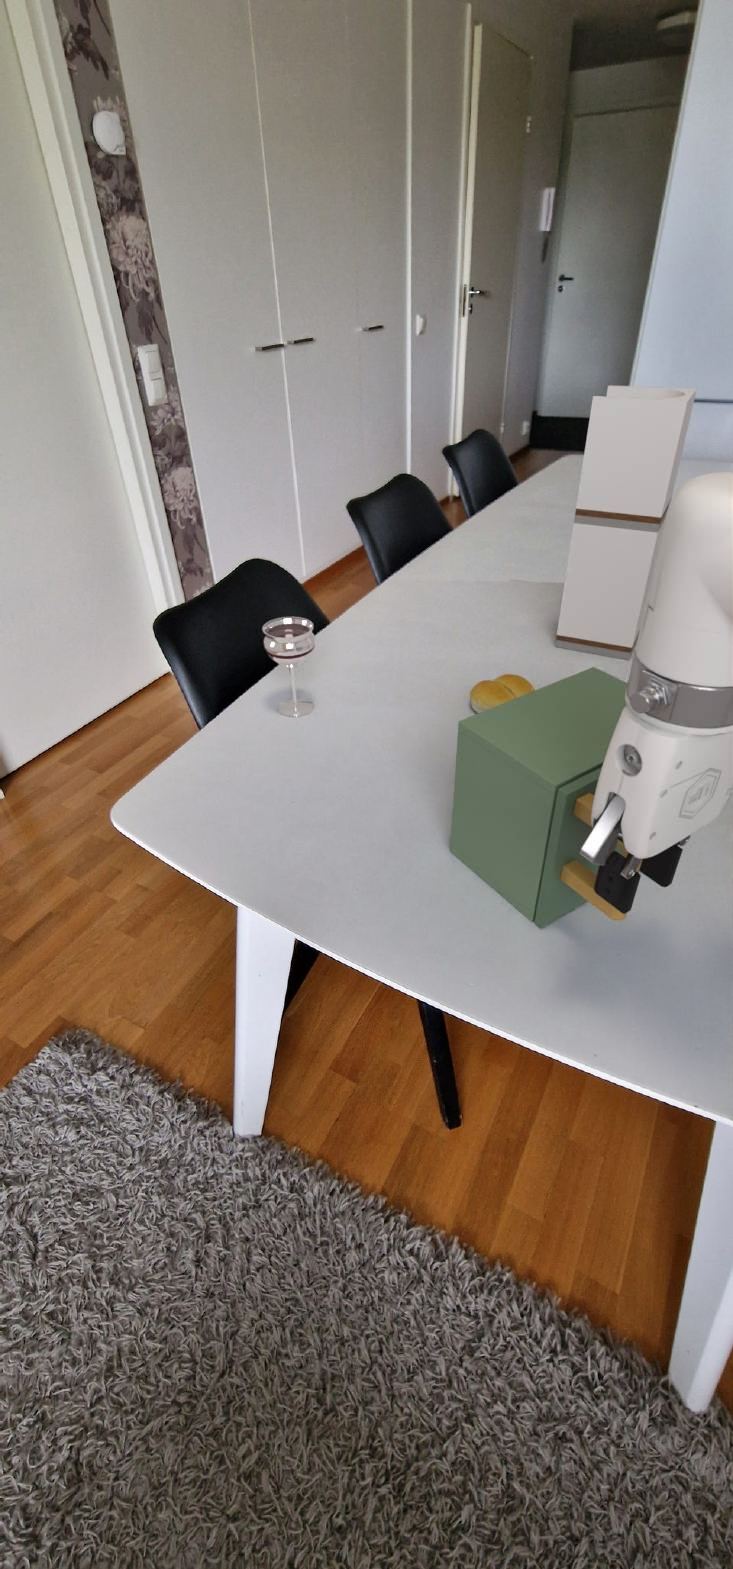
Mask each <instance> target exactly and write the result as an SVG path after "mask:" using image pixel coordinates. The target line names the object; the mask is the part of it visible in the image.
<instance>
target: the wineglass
mask: <svg viewBox="0 0 733 1569" xmlns="http://www.w3.org/2000/svg"><path fill="white" fill-rule="evenodd" d="M261 630H262V633H263V634H264V637H263V648H264V651H265V653H266V654H267V656H268V658H269V659H271V660H272V661H274V662H275V663H277V664H278V665H282V666H285V667H286V668H288V671H289V678H290V685H291V690H292V691H291V692H292V698H291V699H287V700H284V701H283V702H281V703H280V704H279V705H278V706H277V710H278V713H280V714H281V715H282V716H285V717H291V718H295V717H302V716H305V715H308V714H310V713H311V712H313V710H314V704H313V702H312V701H310V700H308V699H306V698H297V682H296V681H297V680H296V668H297V666H299V665H301V664H303V663H305V662H306V661H307V660H308V659H309V658H310V657H311V656H312V654H313V652H314V650H315V648H316V647H315V646H316V637H315V634H314V633H313V630H314V623H313V622H312V620H309V619H308V618H305V617H301V616H282V617H278V618H274V619H271V620H269V621H267V622H266V623H264V624H263V625H262V628H261Z"/></svg>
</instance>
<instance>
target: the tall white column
mask: <svg viewBox="0 0 733 1569" xmlns="http://www.w3.org/2000/svg"><path fill="white" fill-rule="evenodd" d="M696 395H697V388H686V387H685V388H682V387H681V388H680V387H660V386H659V387H658V386H657V387H656V386H634V385H613V384H611V385H608V386H607V390H606V395H605V396H604V395H593V396H592V401H591V407H590V415H589V420H588V427H587V433H586V440H585V445H584V446H585V447H584V452H583V453H584V454H583V459H582V466H581V473H580V479H579V486H578V493H577V499H576V506H575V512H574V519H573V524H572V531H571V538H570V544H569V552H568V558H567V564H566V569H565V570H566V571H565V576H564V584H563V591H562V597H561V604H560V610H559V615H558V616H559V617H558V624H557V631H556V635H555V636H556V637H555V643H554V648H560V649H565V650H570V651H576V652H582V653H587V654H593V655H599V656H604V657H609V658H615V659H621V660H626V661H630V659H631V657H632V654H633V652H634V651H635V649H636V645H637V641H638V636H639V632H640V628H641V623H642V619H643V614H644V610H645V606H646V601H647V597H648V592H649V588H650V583H651V579H652V575H653V570H654V566H655V561H656V557H657V553H658V548H659V544H660V539H661V535H662V530H663V526H664V522H665V518H666V514H667V510H668V507H669V504H670V501H671V499H672V497H673V495H674V494H673V493H674V491H675V485H676V481H677V476H678V473H679V468H680V463H681V459H682V455H683V451H684V446H685V442H686V438H687V434H688V430H689V424H690V421H691V416H692V412H693V408H694V404H695V403H694V402H695V398H696Z"/></svg>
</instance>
